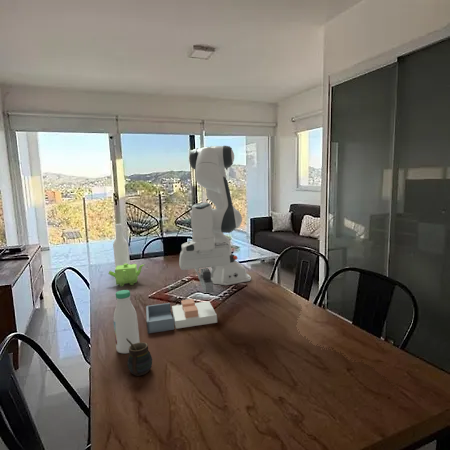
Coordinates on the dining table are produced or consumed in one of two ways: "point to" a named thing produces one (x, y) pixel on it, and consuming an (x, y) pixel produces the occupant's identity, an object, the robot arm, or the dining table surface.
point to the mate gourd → (139, 358)
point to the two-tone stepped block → (206, 280)
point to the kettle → (126, 274)
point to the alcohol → (120, 247)
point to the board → (204, 317)
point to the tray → (159, 318)
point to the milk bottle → (125, 322)
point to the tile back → (187, 303)
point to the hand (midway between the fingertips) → (205, 277)
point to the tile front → (190, 311)
